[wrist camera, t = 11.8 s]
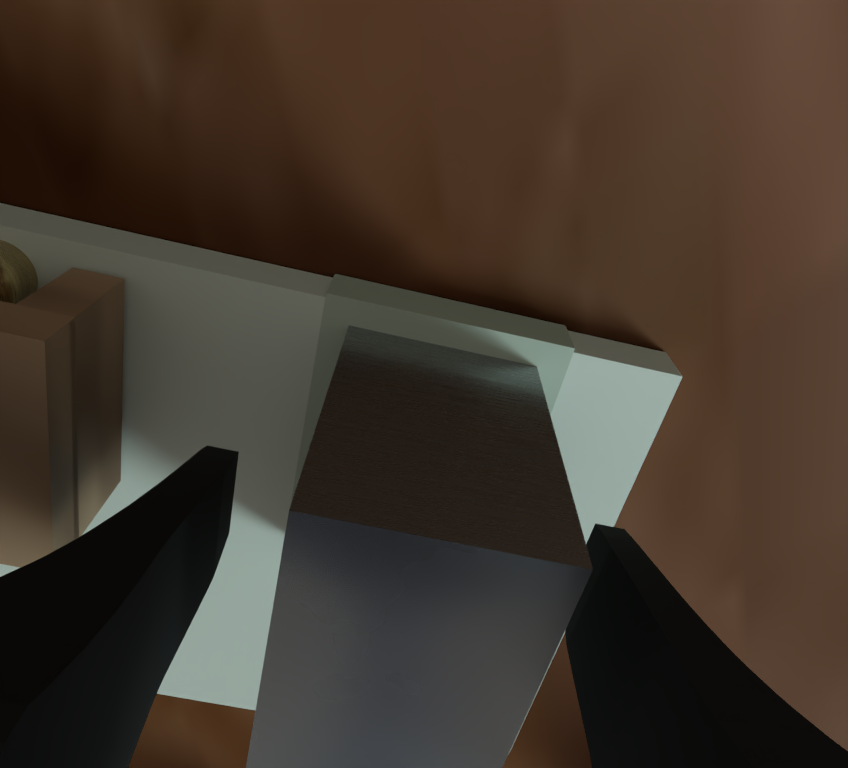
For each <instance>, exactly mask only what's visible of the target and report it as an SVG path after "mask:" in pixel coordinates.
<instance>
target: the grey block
mask: <svg viewBox="0 0 848 768" xmlns="http://www.w3.org/2000/svg"><path fill="white" fill-rule="evenodd" d="M592 571H593V568H592V564H591V560H590V557H589V553H588V550H587V546H586V542H585V539H584V535H583V532H582V528H581V524H580V521H579V517H578V513H577V510H576V506H575V503H574V499H573V495H572V492H571V488H570V485H569V481H568V477H567V474H566V470H565V466H564V463H563V459H562V456H561V452H560V448H559V445H558V441H557V438H556V434H555V430H554V427H553V423H552V419H551V416H550V412H549V409H548V405H547V401H546V398H545V394H544V391H543V387H542V383H541V380H540V376H539V372H538V369H537V366H533V365H528V364H524V363H519V362H514V361H510V360H505V359H501V358H496V357H492V356H487V355H482V354H478V353H473V352H469V351H464V350H460V349H455V348H450V347H446V346H441V345H437V344H432V343H428V342H423V341H418V340H414V339H409V338H405V337H400V336H396V335H391V334H386V333H382V332H377V331H373V330H368V329H364V328H359V327H355V326H350V325H349V326H348V329H347V332H346V335H345V339H344V342H343V345H342V348H341V351H340V354H339V357H338V360H337V363H336V366H335V370H334V373H333V376H332V379H331V382H330V385H329V388H328V391H327V394H326V397H325V401H324V404H323V407H322V410H321V413H320V416H319V419H318V422H317V425H316V428H315V431H314V435H313V438H312V441H311V444H310V447H309V450H308V453H307V456H306V459H305V462H304V466H303V469H302V472H301V475H300V478H299V481H298V484H297V487H296V490H295V493H294V497H293V500H292V503H291V506H290V509H289V514H288V520H287V525H286V531H285V537H284V543H283V549H282V555H281V561H280V567H279V573H278V579H277V585H276V591H275V597H274V603H273V609H272V615H271V621H270V627H269V633H268V639H267V645H266V651H265V657H264V663H263V669H262V675H261V681H260V687H259V693H258V699H257V705H256V711H255V717H254V722H253V728H252V734H251V740H250V746H249V752H248V758H247V764H246V768H502V767H503V765H504V763H505V760H506V758H507V756H508V754H509V752H510V749H511V747H512V745H513V743H514V741H515V739H516V736H517V734H518V732H519V730H520V728H521V726H522V723H523V721H524V719H525V717H526V715H527V712H528V710H529V708H530V706H531V704H532V702H533V699H534V697H535V695H536V693H537V691H538V688H539V686H540V684H541V682H542V680H543V678H544V675H545V673H546V671H547V669H548V667H549V664H550V662H551V660H552V658H553V656H554V654H555V651H556V649H557V647H558V645H559V643H560V640H561V638H562V636H563V634H564V632H565V630H566V627H567V625H568V623H569V621H570V619H571V617H572V614H573V612H574V610H575V608H576V606H577V603H578V601H579V599H580V597H581V595H582V593H583V590H584V588H585V586H586V584H587V582H588V579H589V577H590V575H591V573H592Z"/></svg>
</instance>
